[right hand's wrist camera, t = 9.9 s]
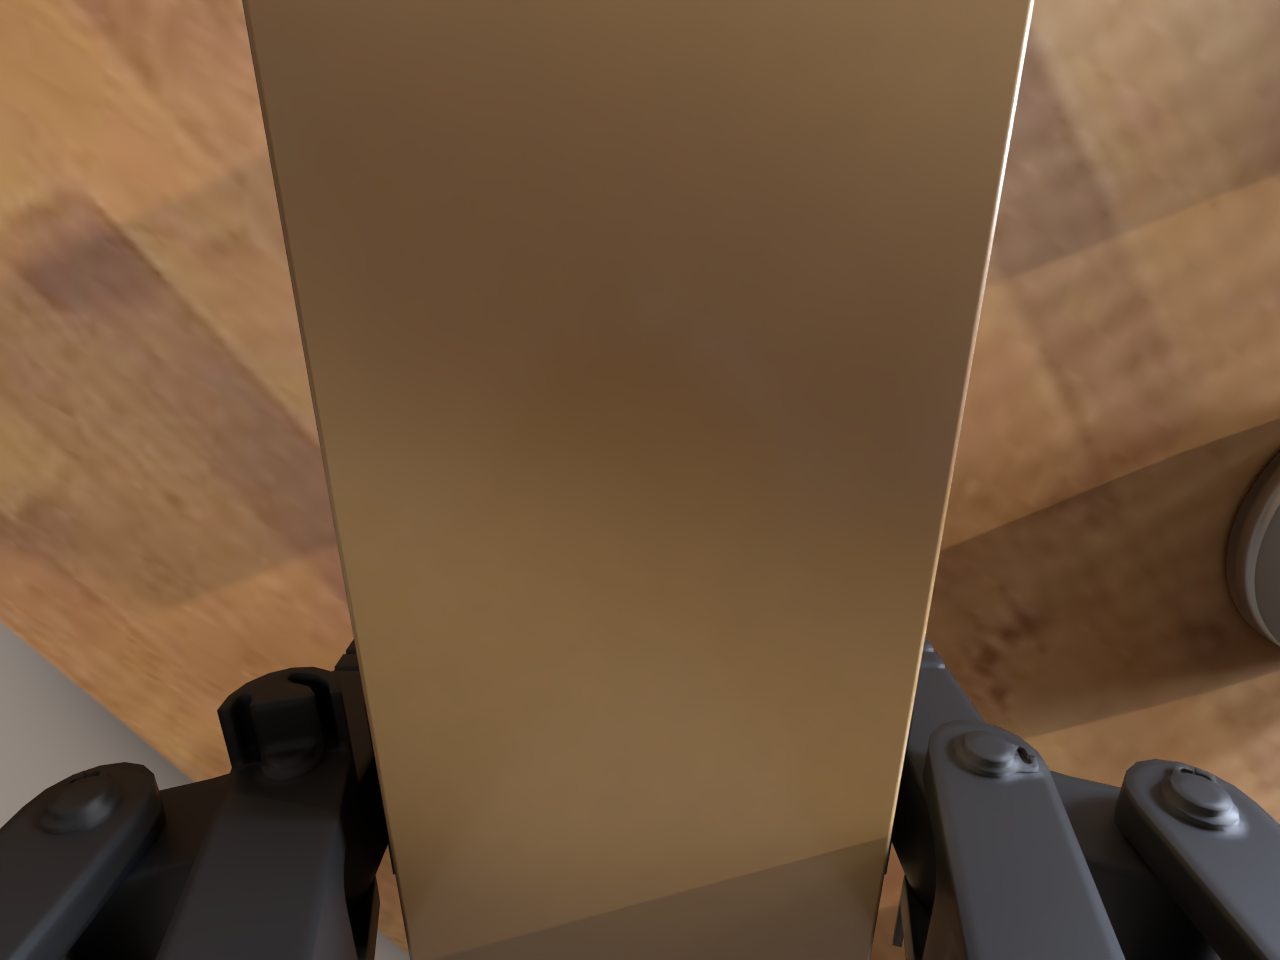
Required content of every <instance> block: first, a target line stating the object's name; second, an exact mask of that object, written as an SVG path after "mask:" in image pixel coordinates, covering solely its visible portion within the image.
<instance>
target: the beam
mask: <svg viewBox="0 0 1280 960" xmlns="http://www.w3.org/2000/svg"><path fill="white" fill-rule="evenodd" d="M242 2H243V8H244V14H245V19H246V25H247V31H248V36H249V42H250V48H251V53H252V59H253V65H254V71H255V76H256V82H257V88H258V93H259V99H260V105H261V111H262V116H263V122H264V128H265V133H266V139H267V145H268V150H269V156H270V162H271V168H272V173H273V179H274V185H275V190H276V196H277V202H278V207H279V213H280V219H281V225H282V230H283V236H284V242H285V247H286V253H287V259H288V265H289V270H290V276H291V282H292V287H293V293H294V299H295V304H296V310H297V316H298V322H299V327H300V333H301V339H302V344H303V350H304V356H305V362H306V367H307V373H308V379H309V384H310V390H311V396H312V401H313V407H314V413H315V419H316V424H317V430H318V436H319V441H320V447H321V453H322V458H323V464H324V470H325V476H326V481H327V487H328V493H329V498H330V504H331V510H332V516H333V521H334V527H335V533H336V538H337V544H338V550H339V555H340V561H341V567H342V573H343V578H344V584H345V590H346V595H347V601H348V607H349V613H350V618H351V624H352V630H353V635H354V641H355V647H356V652H357V658H358V664H359V670H360V675H361V681H362V687H363V692H364V698H365V704H366V709H367V715H368V721H369V727H370V732H371V738H372V744H373V749H374V755H375V761H376V767H377V772H378V778H379V784H380V789H381V795H382V801H383V806H384V812H385V818H386V824H387V829H388V835H389V841H390V846H391V852H392V858H393V864H394V869H395V875H396V881H397V886H398V892H399V898H400V903H401V909H402V915H403V921H404V926H405V932H406V938H407V943H408V949H409V955H410V960H870V955H871V949H872V944H873V938H874V932H875V926H876V920H877V914H878V909H879V903H880V897H881V891H882V885H883V879H884V874H885V868H886V862H887V856H888V850H889V844H890V839H891V833H892V827H893V821H894V815H895V809H896V804H897V798H898V792H899V786H900V780H901V774H902V769H903V763H904V757H905V751H906V745H907V739H908V734H909V728H910V722H911V716H912V710H913V704H914V699H915V693H916V687H917V681H918V675H919V669H920V664H921V658H922V652H923V646H924V640H925V634H926V629H927V623H928V617H929V611H930V605H931V599H932V594H933V588H934V582H935V576H936V570H937V564H938V559H939V553H940V547H941V541H942V535H943V529H944V524H945V518H946V512H947V506H948V500H949V494H950V489H951V483H952V477H953V471H954V465H955V459H956V454H957V448H958V442H959V436H960V430H961V424H962V419H963V413H964V407H965V401H966V395H967V389H968V384H969V378H970V372H971V366H972V360H973V355H974V349H975V343H976V337H977V331H978V325H979V320H980V314H981V308H982V302H983V296H984V290H985V285H986V279H987V273H988V267H989V261H990V255H991V250H992V244H993V238H994V232H995V226H996V220H997V215H998V209H999V203H1000V197H1001V191H1002V185H1003V180H1004V174H1005V168H1006V162H1007V156H1008V150H1009V145H1010V139H1011V133H1012V127H1013V121H1014V115H1015V110H1016V104H1017V98H1018V92H1019V86H1020V80H1021V75H1022V69H1023V63H1024V57H1025V51H1026V45H1027V40H1028V34H1029V28H1030V22H1031V16H1032V10H1033V5H1034V0H242Z"/></svg>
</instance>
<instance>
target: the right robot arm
mask: <svg viewBox="0 0 1280 960" xmlns="http://www.w3.org/2000/svg"><path fill="white" fill-rule="evenodd" d="M1226 573H1227V582H1228V586H1229V591H1230V593H1231V596H1232V599H1233V601H1234V603H1235V605H1236V607H1237V609H1238V611H1239V612H1240V614H1241V615H1242V616H1243V618H1244V619H1245V620H1246V621H1247V622H1248V623H1249V624H1250V625H1251V626H1252V627H1253V628H1254V629H1255V630H1256V631H1258V632H1259V633H1260V634H1262V635H1263V636H1265V637H1266V638H1268V639H1269V640H1271V641H1272V642H1274V643H1275V644H1277V645H1278V646H1280V452H1279V453H1278V454H1277V455H1276V456H1275V457H1274V458H1273V459H1272V461H1271V462H1270V463H1269V464H1268V465H1267V467H1266V468H1265V469H1264V470H1263V472H1262V473H1261V474H1260V476H1259V477H1258V479H1257V480H1256V481H1255V483H1254V484H1253V486H1252V487H1251V489H1250V491H1249V492H1248V494H1247V496H1246V497H1245V499H1244V501H1243V503H1242V505H1241V507H1240V509H1239V511H1238V513H1237V516H1236V519H1235V521H1234V524H1233V527H1232V530H1231V534H1230V538H1229V541H1228V548H1227V554H1226ZM217 712H218V716H219V720H220V724H221V727H222V731H223V735H224V739H225V743H226V746H227V750H228V754H229V758H230V762H231V766H232V769H231V772H230V773H229V774H226V775H223V776H219V777H216V778H213V779H208V780H204V781H200V782H195V783H191V784H186V785H182V786H178V787H173V788H169V789H165V790H160V791H159V789H158V786H157V783H156V780H155V777H154V774H153V773H152V772H151V771H150V770H149V769H147V768H146V767H145V766H144V765H140V764H133V763H126V762H123V763H115V764H108V765H101V766H98V767H95V768H92V769H88V770H86V771H82V772H80V773H77V774H74V775H72V776H70V777H68V778H66V779H64V780H62V781H60V782H59V783H57V784H55V785H53V786H51V787H49V788H47V789H46V790H44V791H43V792H42V793H40V794H39V795H38V796H36V797H35V798H34V799H33V800H31V801H30V802H29V803H27V804H26V805H25V806H24V807H22V808H21V809H20V810H19V811H18V812H17V813H16V814H15V815H14V816H13V817H12V818H11V819H10V820H9V821H8V822H7V823H6V824H5V825H4V826H3V827H2V828H1V829H0V960H374V956H375V947H376V937H377V927H378V918H379V908H380V900H379V892H378V886H377V880H376V872H377V870H378V867H379V865H380V862H381V860H382V857H383V855H384V853H385V850H386V848H387V845H388V846H389V852H390V858H391V864H392V870H393V874H395V869H394V864H393V858H392V852H391V846H390V841H389V835H388V829H387V824H386V818H385V812H384V806H383V801H382V795H381V789H380V784H379V778H378V772H377V767H376V761H375V755H374V749H373V744H372V738H371V732H370V727H369V721H368V715H367V709H366V704H365V698H364V692H363V687H362V681H361V675H360V670H359V664H358V658H357V652H356V647H355V641H354V640H353V641H352V643H351V644H350V645H349V647H348V648H347V650H346V654H343V656H342V657H341V658H340V660H339V661H338V663H337V664H336V666H335V670H334V671H332V672H330V671H328V670H324V669H320V668H316V667H298V668H289V669H285V670H280V671H276V672H272V673H268V674H266V675H264V676H262V677H259V678H257V679H255V680H252V681H250V682H248V683H246V684H245V685H243V686H242V687H240V688H239V689H238V690H236V691H235V692H233V693H232V694H231V695H229V696H228V697H227V698H226V700H225V701H224V702H223V704H222V705H221V706H220V707H219V709H218V710H217ZM891 843H893V846H894V848H895V851H896V853H897V855H898V858H899V860H900V863H901V865H902V868H903V870H904V873H905V875H904V880H903V886H902V891H901V897H900V902H899V908H898V913H897V918H896V924H895V930H894V937H893V944H892V945H895V946H899V947H902V942H903V936H904V945H905V955H906V960H1280V825H1279V824H1278V823H1277V822H1276V821H1275V820H1274V819H1273V818H1272V817H1271V816H1270V815H1269V814H1268V813H1267V812H1266V811H1265V810H1264V809H1262V808H1261V807H1260V806H1259V805H1258V804H1257V803H1256V802H1255V801H1253V800H1252V799H1251V798H1249V797H1248V796H1247V795H1246V794H1244V793H1243V792H1242V791H1240V790H1239V789H1238V788H1236V787H1235V786H1234V785H1232V784H1230V783H1228V782H1226V781H1224V780H1222V779H1220V778H1218V777H1216V776H1215V775H1213V774H1211V773H1209V772H1207V771H1204V770H1201V769H1198V768H1195V767H1192V766H1189V765H1186V764H1183V763H1180V762H1173V761H1165V760H1158V759H1153V760H1147V761H1140V762H1136V763H1135V764H1134V765H1133V766H1132V767H1130V768H1129V769H1128V770H1127V771H1126V774H1125V777H1124V781H1123V784H1122V787H1121V788H1119V787H1115V786H1111V785H1106V784H1102V783H1097V782H1093V781H1089V780H1084V779H1080V778H1075V777H1071V776H1067V775H1063V774H1060V773H1057V772H1053V771H1050V770H1049V768H1048V766H1047V765H1046V763H1045V762H1044V760H1043V759H1042V757H1041V756H1040V754H1039V753H1038V751H1036V750H1035V749H1034V748H1033V747H1031V746H1030V745H1029V744H1028V743H1026V742H1025V741H1024V740H1023V739H1022V738H1020V737H1018V736H1016V735H1014V734H1012V733H1010V732H1008V731H1006V730H1004V729H1002V728H1000V727H998V726H994V725H990V724H987V723H985V721H984V720H983V718H982V717H981V715H980V714H979V713H978V711H977V710H976V708H975V707H974V705H973V704H972V702H971V701H970V700H969V698H968V697H967V695H966V694H965V692H964V691H963V690H962V688H961V687H960V685H959V684H958V682H957V681H956V679H955V678H954V677H953V675H952V674H951V672H950V671H949V669H946V668H945V664H944V662H943V661H942V659H941V658H940V656H939V655H938V654H937V652H934V648H933V646H932V645H931V643H930V642H929V641H928V639H927V638H926V636H925V640H924V646H923V652H922V658H921V664H920V669H919V675H918V681H917V687H916V693H915V699H914V704H913V710H912V716H911V722H910V728H909V734H908V739H907V745H906V751H905V757H904V763H903V769H902V774H901V780H900V786H899V792H898V798H897V804H896V809H895V815H894V821H893V827H892V833H891V839H890V844H889V850H888V856H887V862H886V868H885V874H886V872H887V867H888V861H889V855H890V849H891Z"/></svg>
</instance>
